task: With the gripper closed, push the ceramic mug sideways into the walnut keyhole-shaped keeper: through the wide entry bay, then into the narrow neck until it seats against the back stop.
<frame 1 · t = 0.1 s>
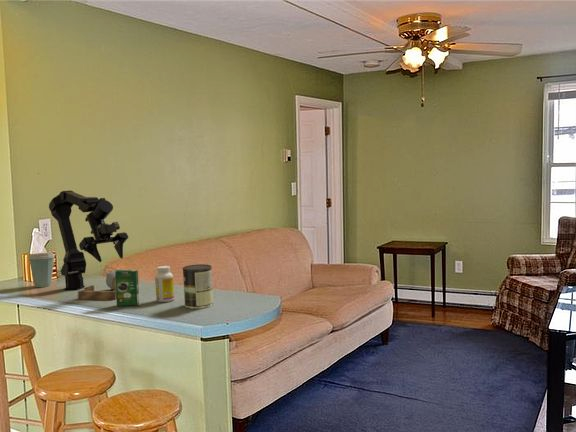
hand: (111, 259, 226), 15 cm above the table, tool tilted 35°, fingers open, 9 cm apart
supplement bottle: (165, 301, 219), on the table
coffee box: (128, 305, 214), on the table
ceramic mug: (121, 289, 243), on the table
coffee can: (199, 305, 209), on the table
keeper: (105, 295, 232), on the table
disposable coffee cup: (43, 286, 257), on the table
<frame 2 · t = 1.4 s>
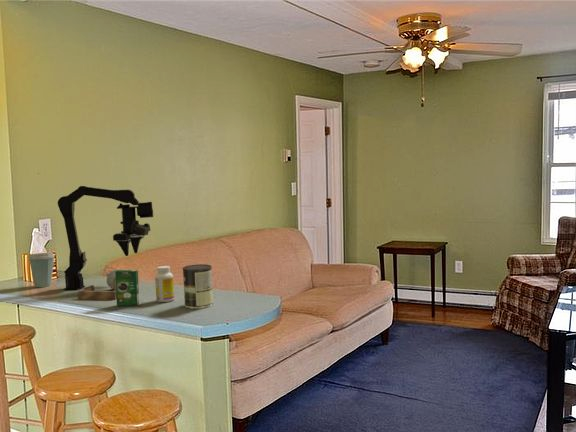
hand: (131, 254, 252), 13 cm above the table, tool pointing down, fingers open, 7 cm apart
nothing on the table moved.
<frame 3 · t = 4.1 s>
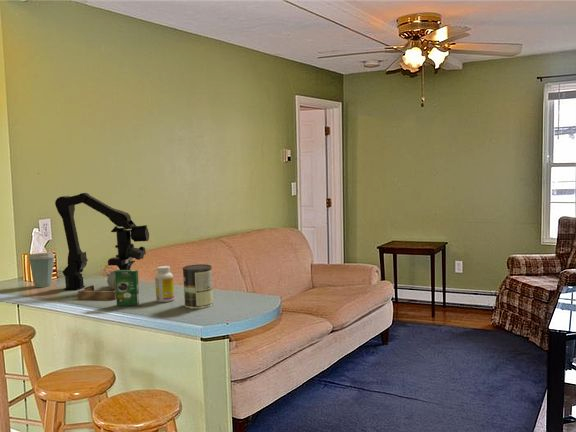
hand: (126, 278, 248), 4 cm above the table, tool pointing down, fingers closed
ceramic mug: (122, 289, 243), on the table, touching gripper
everything else where it was.
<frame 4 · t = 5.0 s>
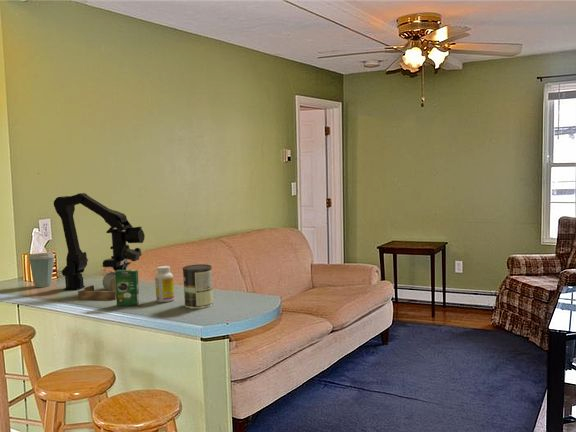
hand: (122, 280, 244), 4 cm above the table, tool pointing down, fingers closed
ceramic mug: (118, 291, 239), on the table, touching gripper
everything else where it was.
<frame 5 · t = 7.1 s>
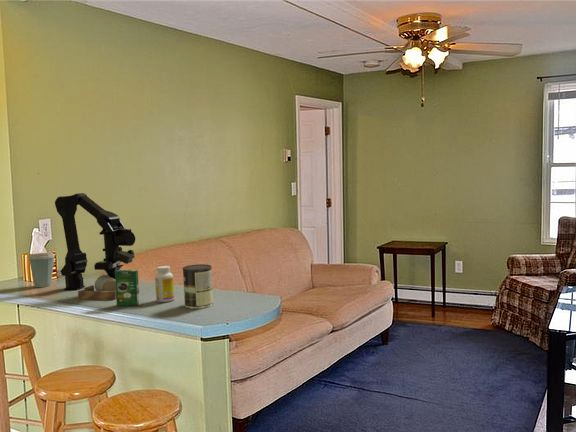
hand: (114, 283, 238), 4 cm above the table, tool pointing down, fingers closed
ceramic mug: (111, 295, 234), on the table, touching gripper
everything else where it was.
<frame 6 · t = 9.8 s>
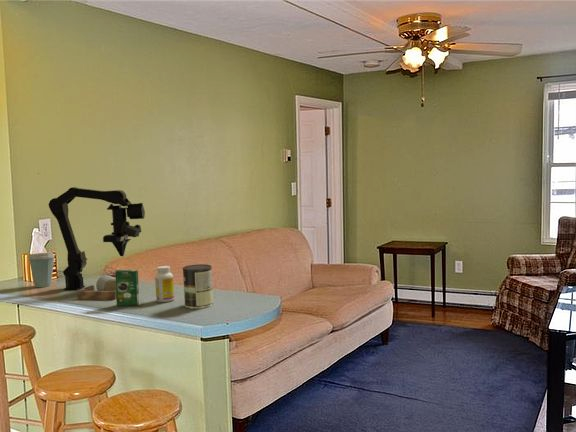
hand: (122, 256, 249), 13 cm above the table, tool pointing down, fingers closed
ceramic mug: (112, 295, 234), on the table
everything else where it was.
at the end: ceramic mug inside the target area (2.9 cm from its centre), on the table; ceramic mug tilted 0°; ceramic mug moved 9.5 cm from its start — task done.
